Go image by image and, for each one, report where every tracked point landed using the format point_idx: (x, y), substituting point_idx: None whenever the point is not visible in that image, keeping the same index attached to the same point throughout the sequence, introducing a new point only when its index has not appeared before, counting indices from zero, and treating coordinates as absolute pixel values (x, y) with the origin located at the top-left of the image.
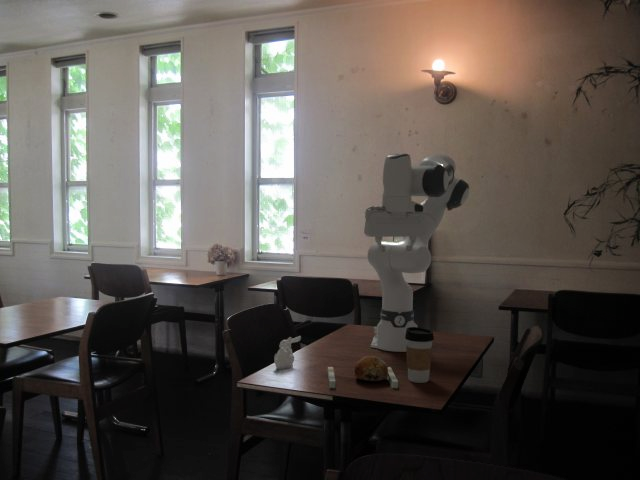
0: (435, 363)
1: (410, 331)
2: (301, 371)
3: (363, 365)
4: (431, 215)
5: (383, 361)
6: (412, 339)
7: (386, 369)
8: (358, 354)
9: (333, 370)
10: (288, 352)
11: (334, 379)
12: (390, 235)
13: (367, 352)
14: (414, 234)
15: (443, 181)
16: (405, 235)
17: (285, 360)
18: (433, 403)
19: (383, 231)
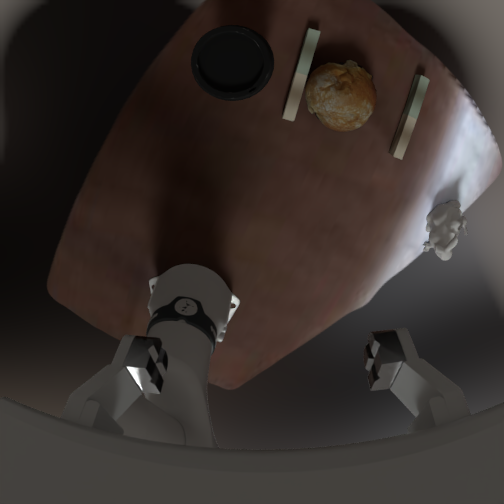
0: (160, 165)
1: (264, 53)
2: (429, 182)
3: (369, 82)
4: None
5: (321, 83)
6: (265, 40)
7: (316, 71)
8: (289, 253)
9: (401, 134)
10: (447, 224)
11: (419, 83)
12: (369, 450)
13: (266, 261)
14: (66, 435)
15: None
16: (163, 450)
17: (453, 206)
18: None
19: (460, 467)
